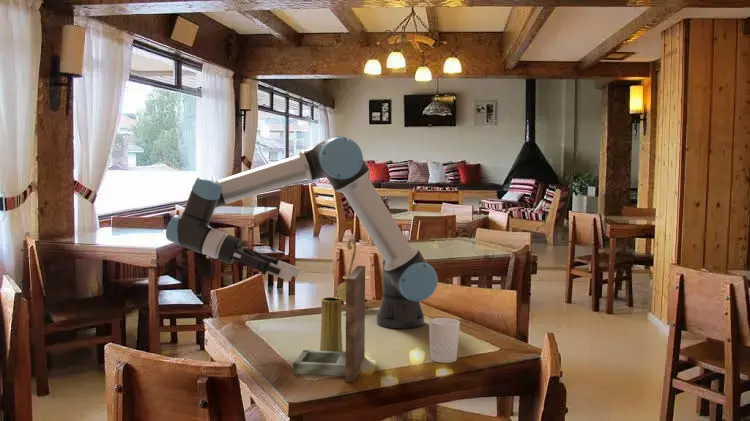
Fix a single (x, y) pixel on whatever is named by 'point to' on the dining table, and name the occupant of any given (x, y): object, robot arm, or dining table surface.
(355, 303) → the board
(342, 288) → the wall sconce
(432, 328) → the white cup
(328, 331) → the vase
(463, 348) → the dining table surface
